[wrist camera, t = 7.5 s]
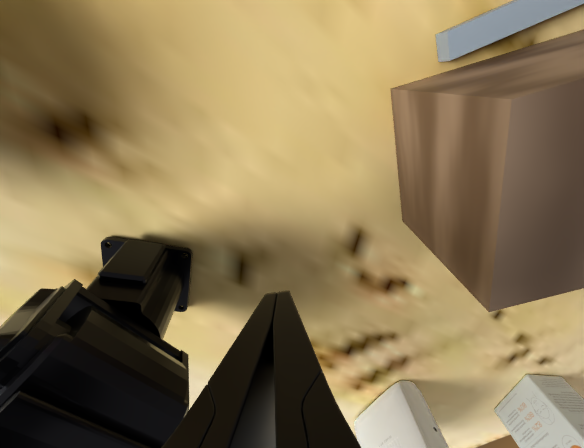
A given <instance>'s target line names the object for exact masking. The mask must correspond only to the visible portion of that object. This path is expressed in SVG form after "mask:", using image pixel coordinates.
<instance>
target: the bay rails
mask: <svg viewBox="0 0 584 448" xmlns="http://www.w3.org/2000/svg"><path fill="white" fill-rule="evenodd" d="M581 4H584V0H513V1H511V2H508V3H506V4H504V5H502V6H499V7H497V8H495V9H493V10H490V11H488V12H486V13H483V14H481V15H479V16H477V17H474V18H472V19H470V20H468V21H465V22H463V23H461V24H459V25H456V26H454V27H452V28H450V29H447V30H445V31H443V32H440V33H438V34H436V43H437V52H438V62H443V61H451V60H453V59H455V58H458V57H460V56H462V55H465V54H467V53H469V52H472V51H474V50H476V49H479V48H481V47H483V46H486V45H488V44H490V43H493V42H495V41H497V40H500V39H502V38H504V37H507V36H509V35H511V34H514V33H516V32H518V31H521V30H523V29H525V28H528V27H530V26H532V25H535V24H537V23H539V22H542V21H544V20H546V19H549V18H551V17H553V16H556V15H558V14H560V13H563V12H565V11H567V10H570V9H572V8H574V7H577V6H579V5H581Z"/></svg>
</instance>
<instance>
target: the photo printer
mask: <svg viewBox="0 0 584 448" xmlns="http://www.w3.org/2000/svg"><path fill="white" fill-rule="evenodd" d="M354 427H355V432H356V436H357V440H358V442H359V444H360V446H361V448H449V447H448V445H447V443H446V441H445V439H444V437H443V435H442V433H441V431H440V429H439V427H438V425H437V423H436V421H435V419H434V417H433V415H432V413H431V411H430V409H429V407H428V405H427V403H426V401H425V399H424V397H423V395H422V393H421V391H420V390H419V389H417V387H416V385H415V384H414V383H413V382H411V381H405V380H402V381H399V382H397V383H395V384H394V385H392V386H391V387H390V388H389V389H387V390H386V391H385V392H384V393H383V394H382V395H381V396H380V397H378V398H377V399H376V400H375V401H374V402H373V403H372V404H371V405H370V406H369V407H368V408H367V409H366V410H364V411H363V412H362V413H361V414H360V415H359V416H358V417H357V419H356V420H355V421H354Z"/></svg>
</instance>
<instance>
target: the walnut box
mask: <svg viewBox="0 0 584 448" xmlns="http://www.w3.org/2000/svg"><path fill="white" fill-rule="evenodd" d="M391 99H392V110H393V121H394V132H395V143H396V154H397V165H398V176H399V187H400V198H401V209H402V220H403V222H404V223H405V224H406V225H407V226H408V227H409V228H410V229H411V230H412V231H413V232H414V234H415V235H416V236H417V237H418V238H419V239H420V240H421V241H422V242H423V243H424V244H425V245H426V246H427V247H428V248H429V249H430V250H431V251H432V253H433V254H434V255H435V256H436V257H437V258H438V259H439V260H440V261H441V262H442V263H443V264H444V265H445V266H446V267H447V268H448V269H449V270H450V272H451V273H452V274H453V275H454V276H455V277H456V278H457V279H458V280H459V281H460V282H461V283H462V284H463V285H464V286H465V287H466V288H467V289H468V291H469V292H470V293H471V294H472V295H473V296H474V297H475V298H476V299H477V300H478V301H479V302H480V303H481V304H482V305H483V306H484V307H485V308H486V310H487V311H488V312H491V311H495V310H499V309H503V308H507V307H511V306H515V305H519V304H523V303H527V302H531V301H535V300H539V299H543V298H547V297H551V296H554V295H558V294H562V293H566V292H570V291H574V290H578V289H582V288H584V30H580V31H577V32H574V33H571V34H567V35H564V36H561V37H558V38H554V39H551V40H548V41H545V42H541V43H538V44H535V45H532V46H528V47H525V48H522V49H519V50H515V51H512V52H509V53H506V54H502V55H499V56H496V57H493V58H489V59H486V60H483V61H480V62H476V63H473V64H470V65H467V66H463V67H460V68H457V69H454V70H450V71H447V72H444V73H441V74H437V75H434V76H431V77H428V78H424V79H421V80H418V81H415V82H411V83H408V84H405V85H402V86H398V87H395V88H392V89H391Z"/></svg>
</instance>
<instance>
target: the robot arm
mask: <svg viewBox="0 0 584 448" xmlns="http://www.w3.org/2000/svg"><path fill="white" fill-rule="evenodd" d="M107 242H108V243H111V244H112V245H109V244H108V243H107ZM101 250H102V261H103V268H102V269H101V270H100V271H99V273H98V276H97V277H96V278H95V279H94V280H93V282H92V283H91V284H90V285H89V286H88V287H87V289H85V288H84V287H82V286H83V284H81V283H80V282H78V281H77V280H75V279H74V280H73V281H72V282H70V283H69V284H68V285H66V286H65V287H62V286H61V287H60V288H59V289H40V290H39V291H37V292H36V293H35V294H34V295H33V296H32V297H31V298H30V299H28V300H27V301H26V302H25V303H24V304H23V305H22V306H21V307H20V308H19V309H18V310H17V311H16V312H14V313H13V314H12V315H11V316H10V317H9V318H8V319H7V320H6V321H5V322H4V323H3V324H2V325H1V326H0V448H361V446H360V444H359V442H358V441H357V439H356V437H355V436H354V434H353V432H352V430H351V429H350V427H349V425H348V423H347V422H346V420H345V418H344V416H343V414H342V412H341V410H340V409H339V407H338V405H337V403H336V401H335V399H334V396H333V394H332V392H331V390H330V388H329V385H328V383H327V381H326V378H325V376H324V373H323V372H322V369H321V366H320V364H319V362H318V359H317V357H316V354H315V352H314V349H313V347H312V345H311V342H310V340H309V337H308V335H307V332H306V330H305V328H304V325H303V323H302V320H301V318H300V315H299V313H298V311H297V308H296V306H295V303H294V301H293V298H292V296H291V294H290V291H281V292H278V293H276V292H274V293H268V294H265V295H264V297H263V298H262V300H261V302H260V303H259V305H258V306H257V308H256V309H255V311H254V312H253V314H252V315H251V317H250V318H249V320H248V322H247V323H246V325H245V326H244V328H243V329H242V331H241V332H240V334H239V335H238V337H237V338H236V340H235V341H234V343H233V345H232V346H231V348H230V349H229V351H228V352H227V354H226V355H225V357H224V358H223V360H222V361H221V363H220V365H219V366H218V368H217V369H216V371H215V372H214V374H213V375H212V377H211V378H210V380H209V381H208V385H206V386H205V387H204V389H203V390H202V392H201V394H200V395H199V397H198V398H197V400H196V401H195V402H194V404H193V405H192V407H191V408H190V410H189V370H188V354H187V353H185V352H184V351H182V350H181V351H179V350H178V349H176V348H175V347H173V346H172V345H170V344H169V343H167V342H166V341H164V340H163V337H164V335H165V332H166V330H167V327H168V325H169V322H170V320H171V317H172V315H173V312H174V311H178V312H184V311H186V310H187V307H188V303H189V291H190V280H191V268H192V256H193V253H192V251H191V250H190V249H188V248H183V247H176V246H169V245H164V244H160V243H153V242H146V241H139V240H133V239H129V240H128V239H122V238H115V237H106V238H105V239H104V240H103V241H102V242H101ZM183 253H185V254H187V255H188V256H185V255H184V254H183ZM180 305H182V306H180ZM188 410H189V411H188Z"/></svg>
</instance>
